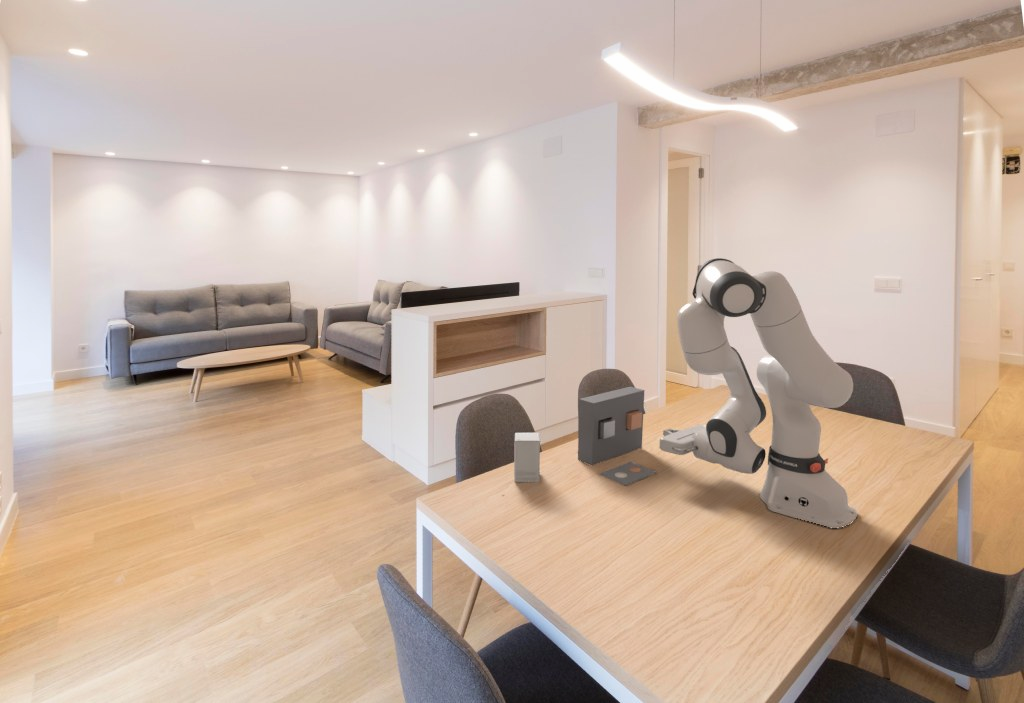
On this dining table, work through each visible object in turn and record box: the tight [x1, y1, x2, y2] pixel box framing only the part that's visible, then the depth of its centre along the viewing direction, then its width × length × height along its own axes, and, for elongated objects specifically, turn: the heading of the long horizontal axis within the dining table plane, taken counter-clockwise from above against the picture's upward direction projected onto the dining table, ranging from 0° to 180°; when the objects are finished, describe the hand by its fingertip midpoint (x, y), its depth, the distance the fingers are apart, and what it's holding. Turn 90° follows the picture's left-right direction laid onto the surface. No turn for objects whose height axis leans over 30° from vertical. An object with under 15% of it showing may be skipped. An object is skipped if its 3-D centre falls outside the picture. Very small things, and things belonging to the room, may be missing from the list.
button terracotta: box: [626, 410, 642, 430], centre depth 178 cm, size 3×5×5 cm, turn 128°
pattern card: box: [599, 461, 658, 487], centre depth 163 cm, size 10×14×1 cm
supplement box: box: [513, 432, 541, 483], centre depth 160 cm, size 7×7×13 cm
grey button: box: [598, 418, 615, 439], centre depth 170 cm, size 3×5×5 cm, turn 128°
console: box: [577, 386, 645, 466], centre depth 177 cm, size 6×24×20 cm, turn 128°
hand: (666, 431), depth 167 cm, fingers closed
